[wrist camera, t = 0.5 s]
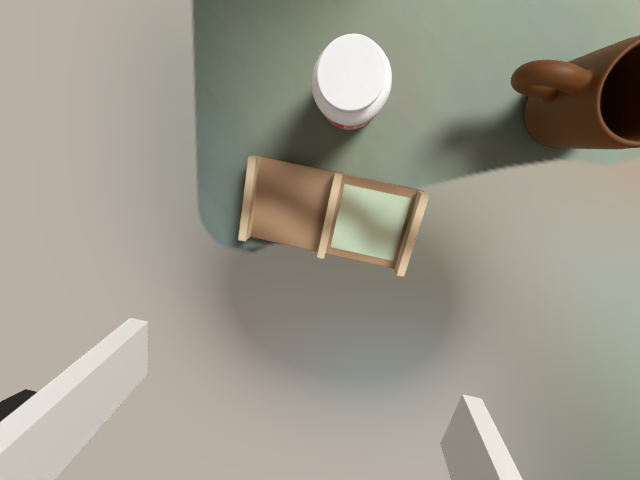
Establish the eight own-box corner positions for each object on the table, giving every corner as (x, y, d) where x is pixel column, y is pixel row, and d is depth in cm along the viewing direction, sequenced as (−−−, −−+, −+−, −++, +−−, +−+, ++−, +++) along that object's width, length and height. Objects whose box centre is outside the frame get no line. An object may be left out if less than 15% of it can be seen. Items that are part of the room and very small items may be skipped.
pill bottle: (344, 142, 32) (342, 141, 22) (308, 93, 31) (286, 67, 21) (393, 102, 31) (416, 79, 20) (357, 48, 30) (361, -5, 19)
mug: (464, 129, 31) (512, 123, 22) (493, 45, 28) (559, -2, 19) (583, 155, 30) (680, 160, 22) (622, 72, 28) (749, 38, 19)
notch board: (257, 155, 33) (248, 156, 31) (422, 190, 33) (429, 195, 30) (247, 232, 36) (238, 239, 33) (399, 266, 36) (403, 276, 33)
